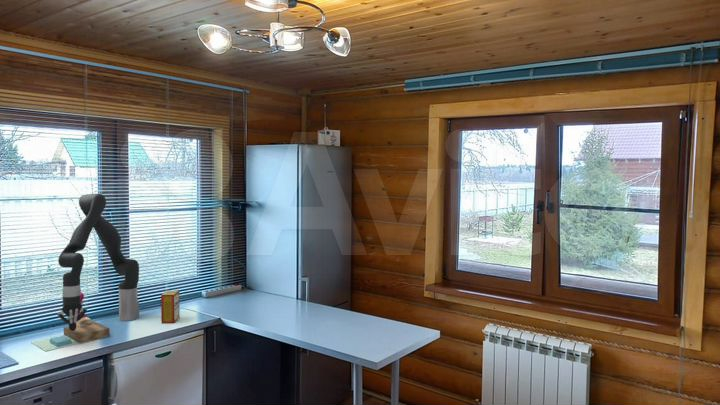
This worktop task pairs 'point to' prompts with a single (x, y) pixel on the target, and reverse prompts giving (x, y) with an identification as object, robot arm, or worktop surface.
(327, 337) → the worktop surface
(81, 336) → the brown shallow rectangular piece
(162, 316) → the baking soda box
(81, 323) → the block
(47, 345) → the mat
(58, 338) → the teal sponge
